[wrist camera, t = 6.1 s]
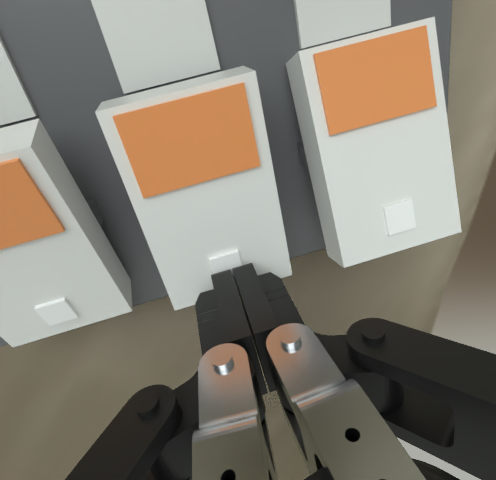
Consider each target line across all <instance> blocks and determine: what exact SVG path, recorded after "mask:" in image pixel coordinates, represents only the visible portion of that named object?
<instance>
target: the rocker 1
mask: <svg viewBox="0 0 496 480" xmlns="http://www.w3.org/2000/svg"><path fill="white" fill-rule="evenodd" d="M131 311H132V294H131V279H130V278H129V276H128V274H127V272H126V271H125V269H124V267H123V265H122V263H121V262H120V260H119V258H118V256H117V255H116V253H115V251H114V249H113V248H112V246H111V244H110V242H109V241H108V239H107V237H106V235H105V233H104V232H103V230H102V228H101V226H100V225H99V223H98V221H97V219H96V218H95V216H94V214H93V212H92V211H91V209H90V207H89V205H88V203H87V202H86V200H85V198H84V196H83V195H82V193H81V191H80V189H79V188H78V186H77V184H76V182H75V181H74V179H73V177H72V175H71V174H70V172H69V170H68V168H67V166H66V165H65V163H64V161H63V159H62V158H61V156H60V154H59V152H58V151H57V149H56V147H55V145H54V144H53V142H52V140H51V138H50V136H49V135H48V133H47V131H46V129H45V128H44V126H43V124H42V122H41V121H40V119H35V120H31V121H27V122H23V123H19V124H15V125H11V126H7V127H3V128H0V337H2V338H3V339H4V340H5V341H6V342H7V343H8V344H9V345H11V346H12V347H16V346H19V345H23V344H26V343H29V342H33V341H36V340H39V339H42V338H46V337H49V336H52V335H56V334H59V333H62V332H65V331H69V330H72V329H75V328H79V327H82V326H85V325H89V324H92V323H95V322H98V321H102V320H105V319H108V318H112V317H115V316H118V315H122V314H125V313H128V312H131Z"/></svg>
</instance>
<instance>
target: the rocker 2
mask: <svg viewBox="0 0 496 480" xmlns="http://www.w3.org/2000/svg"><path fill="white" fill-rule="evenodd" d="M285 64H286V68H287V73H288V77H289V82H290V86H291V91H292V95H293V100H294V104H295V109H296V114H297V118H298V123H299V127H300V132H301V136H302V141H303V145H304V150H305V155H306V159H307V164H308V168H309V173H310V177H311V182H312V186H313V191H314V195H315V200H316V205H317V209H318V214H319V218H320V223H321V227H322V232H323V236H324V241H325V245H326V250H327V255H328V257H330V258H331V259H332V260H334V261H335V262H337V263H338V264H339V265H341V266H342V267H343V268H346V267H349V266H352V265H356V264H359V263H362V262H365V261H369V260H372V259H375V258H378V257H382V256H385V255H388V254H391V253H395V252H398V251H401V250H404V249H408V248H411V247H414V246H417V245H420V244H424V243H427V242H430V241H433V240H437V239H440V238H443V237H446V236H450V235H453V234H456V233H459V232H462V231H461V223H460V215H459V207H458V199H457V191H456V184H455V176H454V168H453V160H452V152H451V144H450V136H449V128H448V120H447V112H446V104H445V96H444V88H443V80H442V72H441V64H440V56H439V48H438V40H437V32H436V24H435V16H434V17H430V18H427V19H423V20H419V21H415V22H411V23H407V24H403V25H399V26H395V27H391V28H387V29H383V30H380V31H376V32H372V33H368V34H364V35H360V36H356V37H352V38H348V39H344V40H340V41H336V42H332V43H329V44H325V45H321V46H317V47H313V48H309V49H305V50H301V51H298V52H297V53H296V54H295V55H294V56H293V57H292V58H291V59H290V60H289V61H288V62H286V63H285Z"/></svg>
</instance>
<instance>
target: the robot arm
mask: <svg viewBox="0 0 496 480" xmlns="http://www.w3.org/2000/svg"><path fill="white" fill-rule="evenodd" d="M232 270H233V274H234V277H235V281H236V284H237V288H238V291H239V294H238V291H237V288H236V285H235V282H234V278H233V275H232V272H231V269H229V270H226V271H222V272H219V273H216V274H212V275H211V279H212V283H213V288H214V289H212V290H209V291H205V292H202V293H200V294H199V296H198V298H197V301H196V303H195V306H196V313H197V321H198V328H199V335H200V343H201V350H202V358H201V359H200V361H199V364H198V371H197V372H196V374H195V375H194V376H193V377H192V378H191V379H190V380H188V381H187V382H185V383H184V384H182V385H181V386H179V387H177V388H176V389H174V390H173V391H172V389H171V388H169V387H168V386H165V385H152V386H148V387H146V388H143V389H142V390H140V391H138V392H137V393H136V394H134V395H133V396H132V397H131V398H130V399H129V400H128V402H127V403H126V404H125V405H124V407H123V408H122V409H121V410H120V412H119V413H118V414H117V415H116V417H115V418H114V419H113V420H112V422H111V423H110V424H109V425H108V427H107V428H106V429H105V430H104V432H103V433H102V434H101V435H100V437H99V438H98V439H97V440H96V442H95V443H94V444H93V445H92V447H91V448H90V449H89V450H88V452H87V453H86V454H85V455H84V457H83V458H82V459H81V460H80V461H79V463H78V464H77V465H76V466H75V468H74V469H73V470H72V471H71V473H70V474H69V475H68V476H67V478H66V479H65V480H278V476H277V471H276V465H275V460H274V455H273V450H272V445H271V440H270V435H269V430H268V425H267V420H266V416H265V410H266V409H265V405H264V401H263V398H262V395H263V394H266V393H268V392H267V389H266V385H265V381H264V378H263V374H262V371H261V367H260V363H261V366H262V369H263V372H264V375H265V379H266V382H267V385H268V388H269V391H270V392H272V391H275V390H277V393H278V395H279V398H280V402H281V405H282V409H283V413H284V416H285V418H286V420H287V422H288V425H289V427H290V429H291V432H292V434H293V436H294V438H295V441H296V443H297V445H298V448H299V450H300V452H301V454H302V457H303V459H304V461H305V464H306V466H307V468H308V471H309V473H310V476H309V477H307V478H306V479H304V480H460V479H458V478H456V477H454V476H452V475H450V474H449V473H447V472H445V471H443V470H441V469H439V468H437V467H435V466H433V465H430V464H428V463H426V462H423V461H419V460H416V459H412V458H411V457H410V456H409V455H408V453H407V452H406V450H405V449H404V448H403V446H402V445H401V443H400V442H399V441H398V439H397V438H396V437H398V438H400V439H402V440H404V441H406V442H408V443H410V444H412V445H414V446H416V447H418V448H420V449H422V450H424V451H426V452H428V453H430V454H432V455H434V456H436V457H438V458H440V459H442V460H444V461H446V462H448V463H450V464H452V465H454V466H456V467H458V468H460V469H462V470H464V471H466V472H467V473H469V474H471V475H474V476H475V477H477V478H479V479H481V480H496V354H493V353H490V352H486V351H483V350H480V349H477V348H474V347H470V346H467V345H464V344H460V343H457V342H454V341H451V340H448V339H444V338H441V337H438V336H435V335H432V334H429V333H425V332H422V331H419V330H416V329H413V328H409V327H406V326H403V325H400V324H397V323H393V322H390V321H387V320H384V319H379V318H367V319H362V320H359V321H357V322H355V323H354V324H353V325H351V327H350V328H349V329H348V331H347V335H335V336H327V335H321V334H317V333H315V332H313V331H312V329H310V328H309V327H307V326H306V325H305V324H304V322H303V321H302V319H301V317H300V315H299V313H298V311H297V309H296V307H295V305H294V303H293V301H292V300H291V298H290V296H289V294H288V292H287V290H286V289H285V286H284V284H283V282H282V280H281V278H279V277H278V276H276V275H275V274H273V273H271V272H268V273H265V274H262V275H257V273H256V271H255V268H254V266H253V264H252V263H249V264H246V265H242V266H239V267H235V268H232ZM239 295H240V297H239ZM240 299H241V300H240ZM241 302H242V304H241ZM242 306H243V307H242ZM243 309H244V310H243ZM244 312H245V313H244ZM249 328H250V329H249ZM253 341H254V342H253ZM254 344H255V346H254ZM255 347H256V349H255ZM256 350H257V353H256ZM257 354H258V356H257ZM258 357H259V360H260V363H259V360H258Z"/></svg>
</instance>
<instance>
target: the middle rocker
mask: <svg viewBox="0 0 496 480" xmlns="http://www.w3.org/2000/svg"><path fill="white" fill-rule="evenodd" d="M95 113H96V116H97V118H98V121H99V123H100V126H101V128H102V131H103V133H104V136H105V138H106V141H107V143H108V146H109V148H110V151H111V153H112V156H113V158H114V161H115V163H116V166H117V168H118V171H119V173H120V176H121V178H122V181H123V183H124V186H125V188H126V191H127V193H128V196H129V198H130V200H131V203H132V205H133V208H134V210H135V213H136V215H137V218H138V220H139V223H140V225H141V228H142V230H143V233H144V235H145V238H146V240H147V243H148V245H149V248H150V250H151V253H152V255H153V258H154V260H155V263H156V265H157V268H158V270H159V273H160V275H161V278H162V280H163V283H164V285H165V287H166V290H167V292H168V295H169V297H170V300H171V302H172V305H173V307H174V310H175V311H176V310H179V309H182V308H186V307H189V306H192V305H195V303H196V301H197V298H198V296H199V294H200V293H202V292H205V291H209V290H212V289H214V288H213V283H212V279H211V275H212V274H216V273H219V272H222V271H226V270H229V269H231V272H232V275H233V278H234V282H235V285H236V288H237V284H236V281H235V277H234V274H233V270H232V268H235V267H239V266H242V265H246V264H249V263H252V264H253V266H254V268H255V271H256V273H257V275H262V274H265V273H268V272H271V273H273V274H275V275H276V276H278V277H279V278H284V277H287V276H290V275H292V269H291V264H290V258H289V253H288V247H287V242H286V236H285V231H284V225H283V220H282V214H281V209H280V203H279V198H278V192H277V187H276V181H275V176H274V170H273V164H272V159H271V153H270V148H269V142H268V137H267V131H266V126H265V120H264V115H263V109H262V104H261V98H260V93H259V87H258V82H257V76H256V71H255V70H253V69H250V68H248V67H245V66H240V67H236V68H233V69H229V70H225V71H221V72H217V73H213V74H209V75H205V76H201V77H197V78H193V79H189V80H185V81H182V82H178V83H174V84H170V85H166V86H162V87H158V88H154V89H150V90H146V91H142V92H138V93H135V94H131V95H127V96H123V97H119V98H115V99H111V100H107V101H103V102H101V104H100V105H99V107H98V108H97V110H96V111H95ZM237 291H238V288H237Z"/></svg>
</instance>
